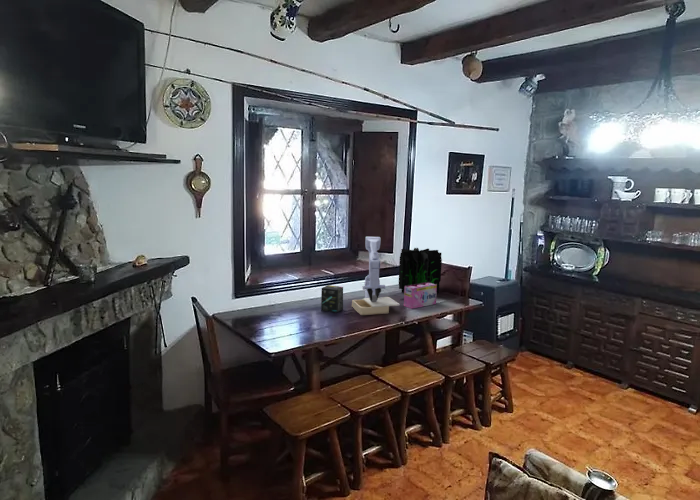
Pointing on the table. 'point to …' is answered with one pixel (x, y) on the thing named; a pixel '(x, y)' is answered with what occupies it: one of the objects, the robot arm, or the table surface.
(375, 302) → the lid
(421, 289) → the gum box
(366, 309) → the beige wooden tray
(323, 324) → the table surface
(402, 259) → the decorative plant
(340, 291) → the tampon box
